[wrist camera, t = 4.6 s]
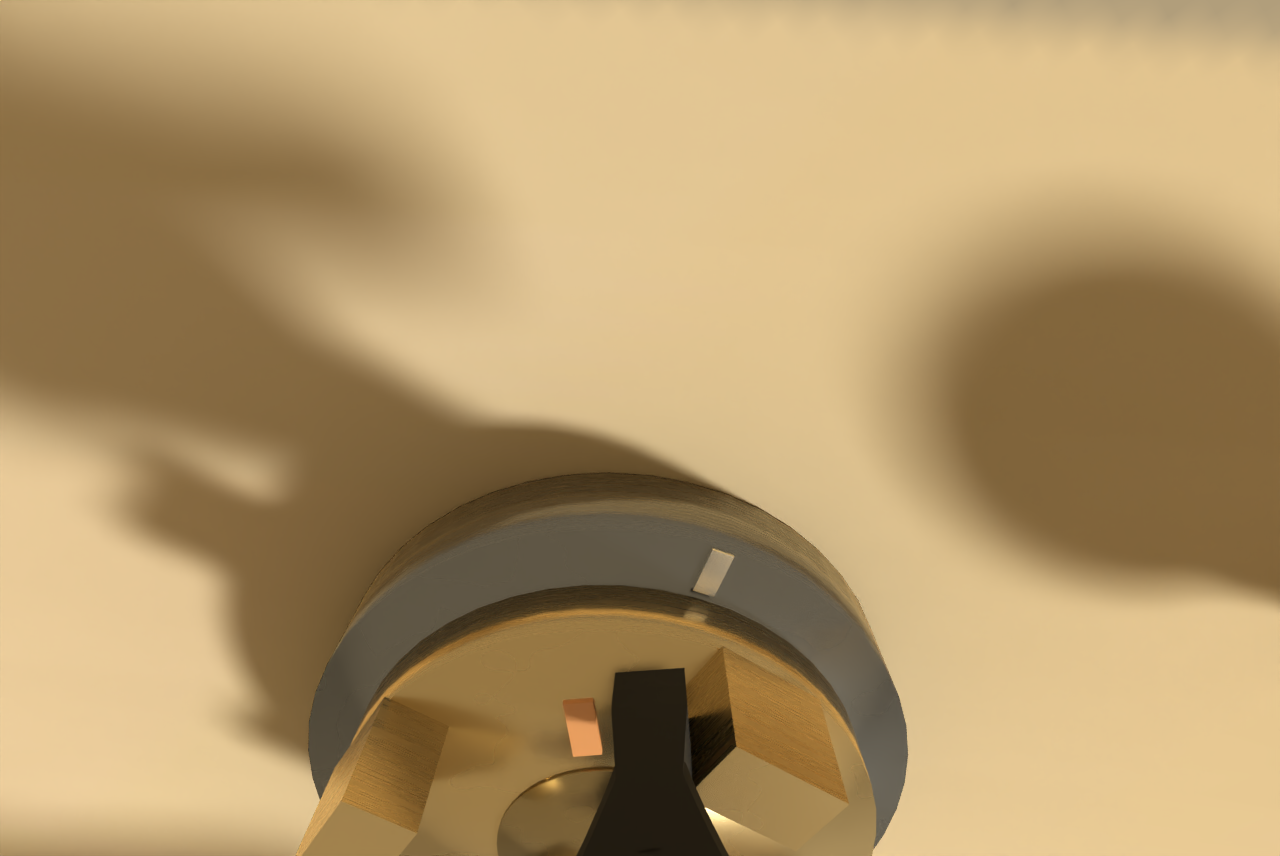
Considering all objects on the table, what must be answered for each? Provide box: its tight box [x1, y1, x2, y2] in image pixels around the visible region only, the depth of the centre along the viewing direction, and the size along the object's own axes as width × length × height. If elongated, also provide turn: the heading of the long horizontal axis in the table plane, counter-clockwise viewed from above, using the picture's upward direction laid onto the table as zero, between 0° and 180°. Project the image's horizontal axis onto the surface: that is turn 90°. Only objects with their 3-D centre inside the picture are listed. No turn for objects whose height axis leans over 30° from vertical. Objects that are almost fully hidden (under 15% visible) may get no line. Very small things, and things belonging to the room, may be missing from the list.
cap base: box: [308, 473, 908, 849], centre depth 16 cm, size 12×12×2 cm
